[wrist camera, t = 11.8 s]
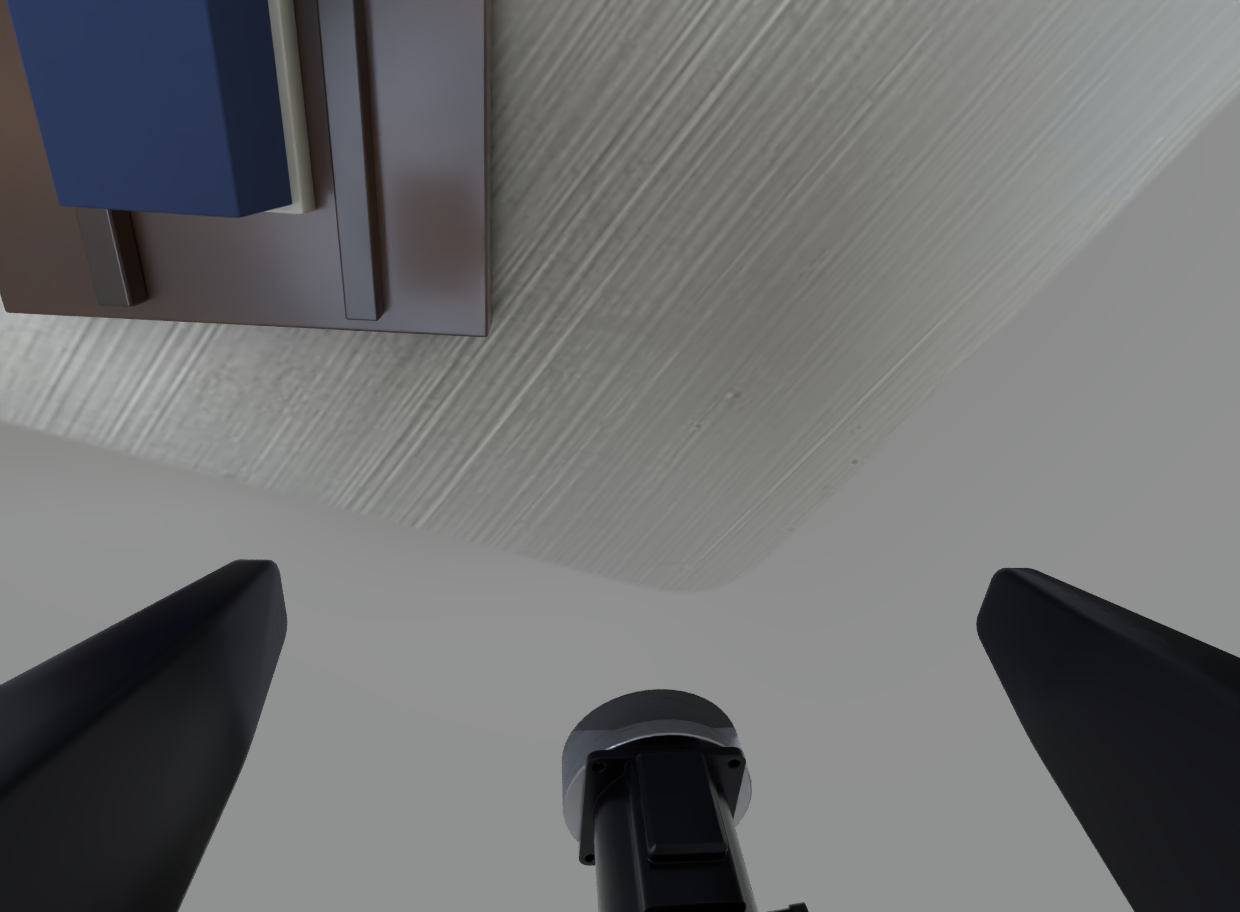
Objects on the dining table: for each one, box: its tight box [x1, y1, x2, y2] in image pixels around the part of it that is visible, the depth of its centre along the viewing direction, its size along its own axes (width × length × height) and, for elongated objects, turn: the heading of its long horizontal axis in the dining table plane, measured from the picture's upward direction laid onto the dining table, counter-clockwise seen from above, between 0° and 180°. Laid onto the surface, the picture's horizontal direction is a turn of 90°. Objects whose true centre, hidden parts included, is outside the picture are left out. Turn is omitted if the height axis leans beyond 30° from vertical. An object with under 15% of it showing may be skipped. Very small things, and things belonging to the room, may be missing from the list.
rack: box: [0, 0, 492, 337], centre depth 15 cm, size 14×12×2 cm
